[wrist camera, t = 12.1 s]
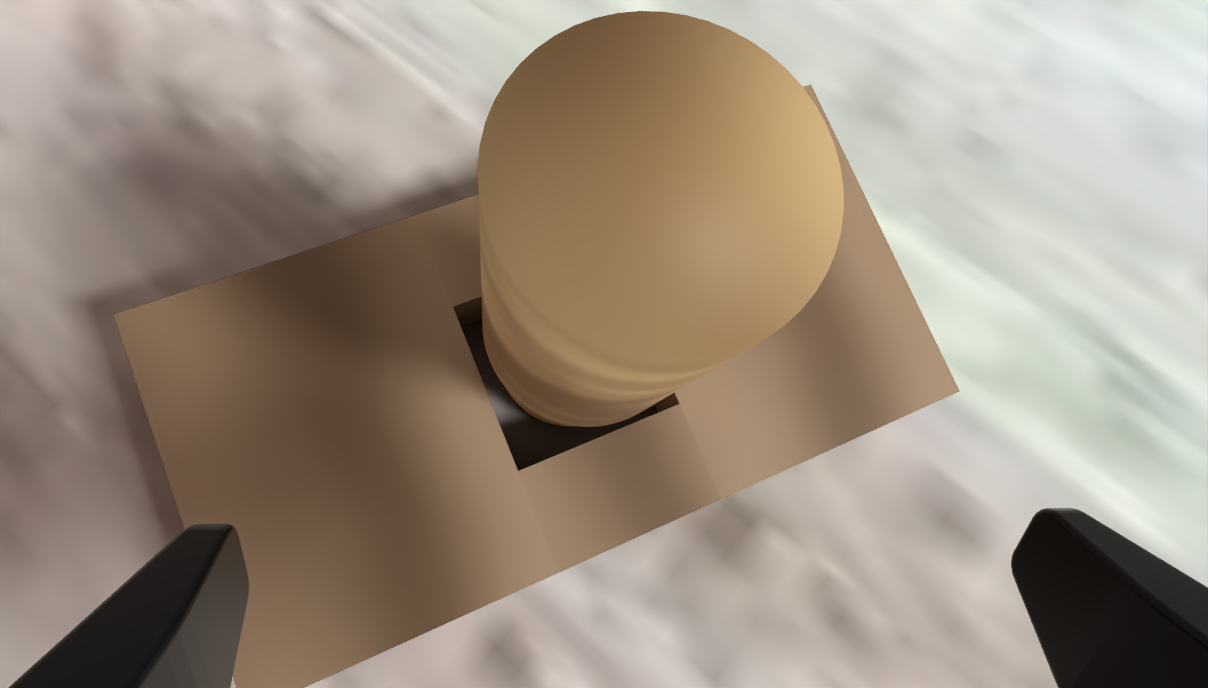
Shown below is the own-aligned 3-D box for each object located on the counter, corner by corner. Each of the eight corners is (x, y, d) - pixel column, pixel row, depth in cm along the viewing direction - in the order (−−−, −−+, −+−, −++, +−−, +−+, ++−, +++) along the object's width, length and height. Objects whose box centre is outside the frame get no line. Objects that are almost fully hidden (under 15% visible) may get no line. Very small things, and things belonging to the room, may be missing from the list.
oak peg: (517, 472, 22) (565, 422, 8) (461, 332, 22) (421, 68, 9) (655, 414, 23) (903, 283, 9) (598, 281, 23) (752, -28, 10)
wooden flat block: (275, 688, 20) (245, 713, 17) (156, 336, 21) (113, 314, 19) (911, 402, 24) (959, 391, 22) (780, 124, 25) (810, 84, 23)
